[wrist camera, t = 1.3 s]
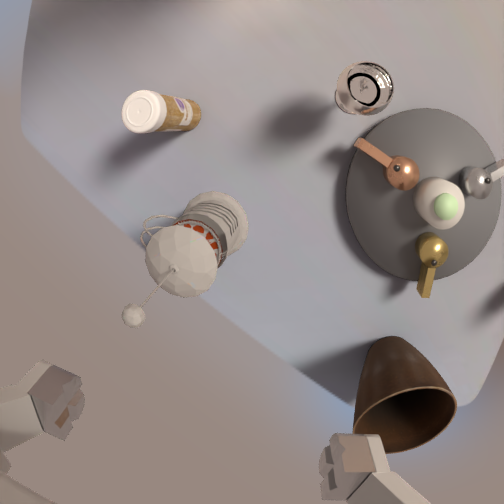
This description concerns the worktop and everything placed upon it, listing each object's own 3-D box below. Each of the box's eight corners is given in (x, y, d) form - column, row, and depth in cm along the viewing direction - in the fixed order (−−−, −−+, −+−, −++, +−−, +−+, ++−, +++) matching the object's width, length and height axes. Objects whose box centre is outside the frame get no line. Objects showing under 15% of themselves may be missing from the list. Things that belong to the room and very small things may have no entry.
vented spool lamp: (234, 267, 47) (173, 388, 24) (164, 236, 47) (60, 327, 24) (259, 207, 43) (206, 298, 20) (182, 176, 44) (65, 230, 21)
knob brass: (417, 231, 39) (425, 238, 36) (442, 232, 38) (451, 240, 35) (407, 288, 42) (413, 299, 39) (431, 288, 41) (438, 299, 38)
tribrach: (401, 73, 34) (417, 64, 27) (516, 179, 35) (542, 188, 28) (310, 218, 43) (311, 234, 37) (434, 301, 44) (449, 324, 38)
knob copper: (417, 167, 36) (425, 170, 33) (401, 192, 37) (408, 197, 34) (363, 128, 35) (368, 128, 32) (347, 154, 37) (351, 156, 34)
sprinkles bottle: (208, 114, 40) (168, 108, 27) (186, 137, 41) (139, 143, 29) (186, 92, 39) (139, 80, 27) (164, 116, 41) (112, 114, 28)
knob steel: (464, 199, 36) (475, 204, 33) (455, 172, 35) (465, 176, 32) (506, 175, 33) (518, 179, 30) (498, 149, 32) (510, 151, 29)
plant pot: (425, 375, 49) (447, 440, 35) (349, 390, 53) (354, 461, 38) (429, 308, 45) (465, 374, 30) (341, 326, 48) (349, 401, 33)
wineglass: (348, 127, 38) (365, 125, 27) (321, 91, 36) (327, 75, 25) (382, 104, 36) (410, 95, 25) (355, 68, 35) (374, 46, 24)
